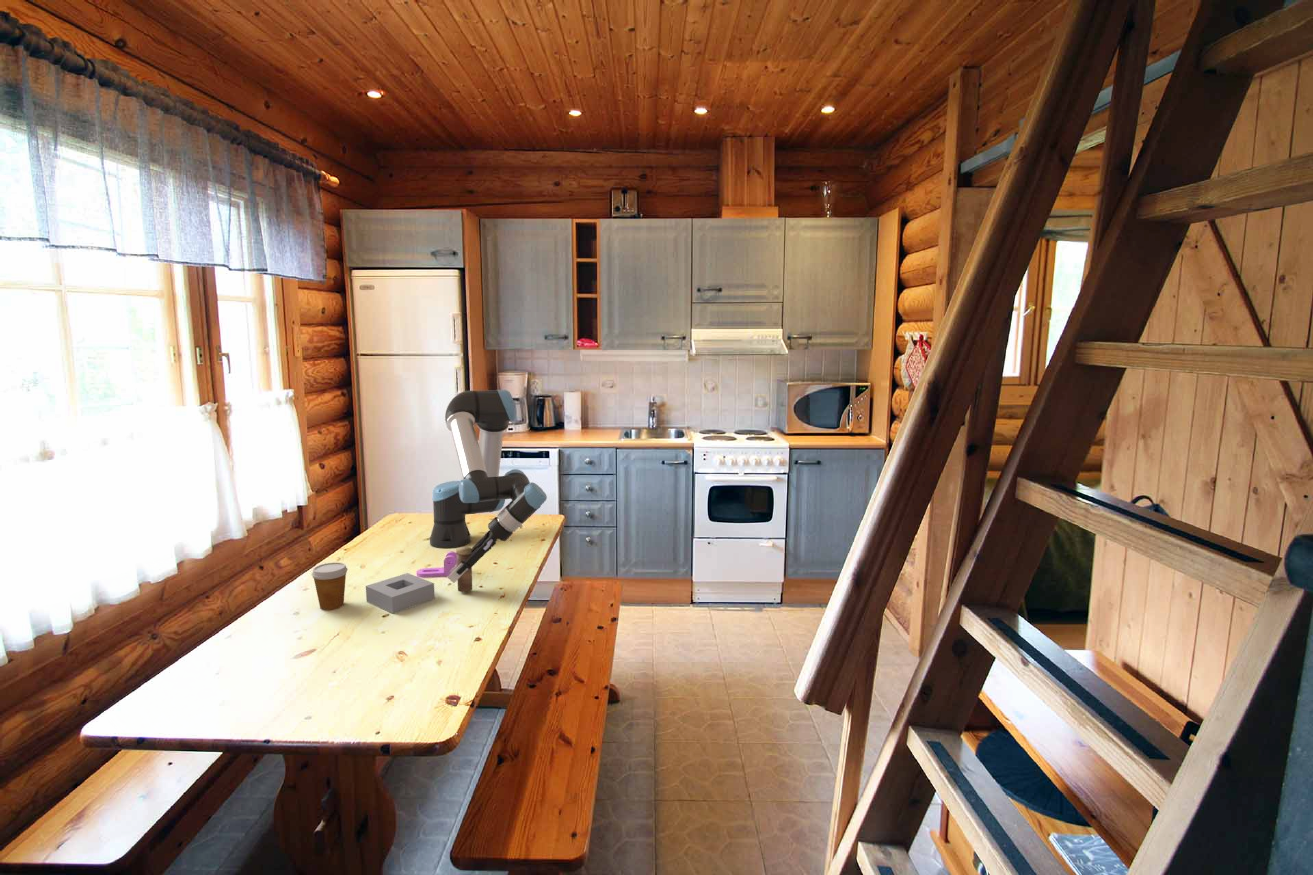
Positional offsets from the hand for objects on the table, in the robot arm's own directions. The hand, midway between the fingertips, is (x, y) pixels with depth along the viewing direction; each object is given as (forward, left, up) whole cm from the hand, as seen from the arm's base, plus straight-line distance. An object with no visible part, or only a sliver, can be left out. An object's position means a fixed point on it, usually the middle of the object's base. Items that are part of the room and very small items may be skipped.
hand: (452, 576), depth 206 cm
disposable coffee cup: (-19, -28, -5) cm, 35 cm away
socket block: (-7, -13, -5) cm, 16 cm away
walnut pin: (+3, +3, -4) cm, 6 cm away
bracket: (-18, +7, -6) cm, 20 cm away
